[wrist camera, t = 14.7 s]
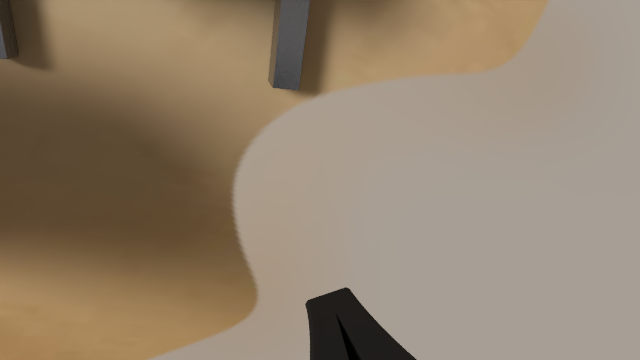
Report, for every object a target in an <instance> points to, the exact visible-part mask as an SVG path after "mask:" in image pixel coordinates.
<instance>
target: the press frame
mask: <svg viewBox="0 0 640 360" xmlns="http://www.w3.org/2000/svg"><path fill="white" fill-rule="evenodd" d="M309 5H310V0H276V3H275V14H274V25H273V36H272V47H271V58H270V69H269V79H268V81H269V83H270V84H271V86H272V87H273V88H281V89H291V90H299V84H300V76H301V68H302V60H303V52H304V44H305V36H306V28H307V21H308V13H309ZM15 56H18V50H17V44H16V38H15V33H14V27H13V22H12V16H11V10H10V5H9V0H0V59H9V58H12V57H15Z"/></svg>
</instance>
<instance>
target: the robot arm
mask: <svg viewBox="0 0 640 360" xmlns="http://www.w3.org/2000/svg"><path fill="white" fill-rule="evenodd" d="M306 308H307V313H308V319H309V330H310V360H416V359H415V358H414V357H413V356H412V355H411V354H410V353H408V352H407V351H406V350H405V349H404V348H403V347H402V346H401V345H400V344H399V343H397V341H395V340H394V339H393V338H392V337H391V336H390V335H389V334H388V333H387V332H386V331H385V330H384V329H383V328H382V327H381V326H380V325H379V324H378V322H377V321H376V320H375V319H374V318H373V317H372V316H371V315H370V314H369V313H368V312H367V310H366V309H365V308H364V307H363V306H362V305H361V303H360V302H359V301H358V300H357V298H356V297H355V296H354V295H353V293H352V292H351V291H350V289H348V288H343V289H340V290H337V291H334V292H331V293H328V294H325V295H322V296H319V297H316V298H313V299H310V300H308V301H307V303H306Z"/></svg>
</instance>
